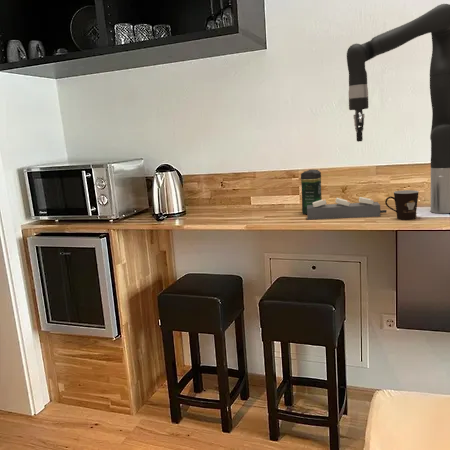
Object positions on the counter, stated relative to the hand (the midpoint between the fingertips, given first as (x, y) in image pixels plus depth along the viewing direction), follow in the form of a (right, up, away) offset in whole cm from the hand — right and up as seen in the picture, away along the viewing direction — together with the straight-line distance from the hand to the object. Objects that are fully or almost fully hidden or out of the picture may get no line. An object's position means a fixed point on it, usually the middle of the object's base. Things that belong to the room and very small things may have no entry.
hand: (359, 141), depth 195 cm
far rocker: (-17, -25, -2) cm, 30 cm away
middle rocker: (-8, -25, -3) cm, 26 cm away
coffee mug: (+12, -32, -14) cm, 37 cm away
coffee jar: (-17, -29, +12) cm, 36 cm away
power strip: (-6, -30, -1) cm, 31 cm away
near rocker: (+1, -24, -5) cm, 25 cm away
